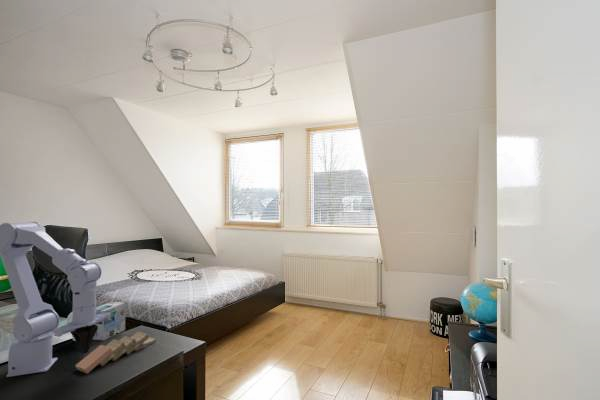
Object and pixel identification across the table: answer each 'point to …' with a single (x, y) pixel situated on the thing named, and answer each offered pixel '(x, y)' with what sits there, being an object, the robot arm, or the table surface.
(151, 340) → the domino
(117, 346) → the domino
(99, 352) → the domino
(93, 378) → the table surface
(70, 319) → the lightbulb
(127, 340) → the domino
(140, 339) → the domino
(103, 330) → the light bulb box
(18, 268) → the robot arm
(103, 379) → the table surface
